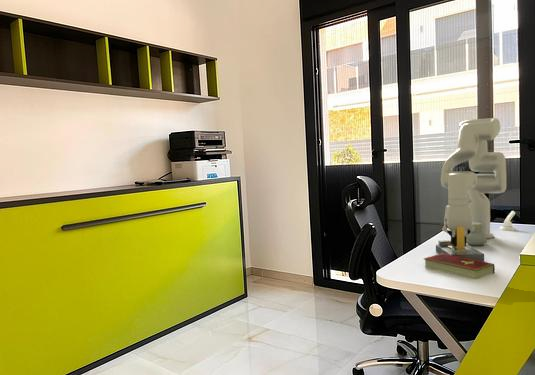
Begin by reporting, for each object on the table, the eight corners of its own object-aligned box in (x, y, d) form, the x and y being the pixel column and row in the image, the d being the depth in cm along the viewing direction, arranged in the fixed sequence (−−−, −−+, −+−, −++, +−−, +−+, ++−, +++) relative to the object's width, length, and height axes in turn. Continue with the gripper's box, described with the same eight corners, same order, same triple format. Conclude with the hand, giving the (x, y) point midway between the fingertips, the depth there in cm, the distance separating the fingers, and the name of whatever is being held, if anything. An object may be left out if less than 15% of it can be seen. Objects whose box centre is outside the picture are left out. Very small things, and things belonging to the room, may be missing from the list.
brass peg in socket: (453, 250, 174) (452, 225, 174) (460, 250, 174) (460, 224, 173) (457, 253, 170) (456, 227, 169) (464, 252, 170) (464, 226, 169)
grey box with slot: (435, 251, 182) (435, 240, 181) (466, 250, 181) (465, 239, 180) (450, 262, 164) (450, 250, 163) (484, 261, 163) (484, 249, 162)
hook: (527, 219, 217) (520, 213, 214) (514, 238, 218) (506, 232, 215) (515, 215, 224) (508, 209, 221) (502, 232, 225) (495, 227, 222)
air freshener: (488, 247, 185) (488, 225, 184) (468, 247, 186) (468, 225, 186) (481, 241, 195) (481, 221, 194) (463, 241, 197) (462, 221, 196)
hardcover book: (442, 262, 166) (442, 252, 165) (494, 274, 148) (494, 262, 148) (423, 268, 159) (423, 257, 159) (475, 281, 141) (475, 269, 141)
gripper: (474, 200, 173) (475, 243, 175) (435, 202, 175) (435, 244, 176) (482, 202, 166) (482, 247, 168) (441, 204, 167) (441, 248, 169)
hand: (458, 245), depth 172 cm, fingers closed on brass peg in socket, 3 cm apart
